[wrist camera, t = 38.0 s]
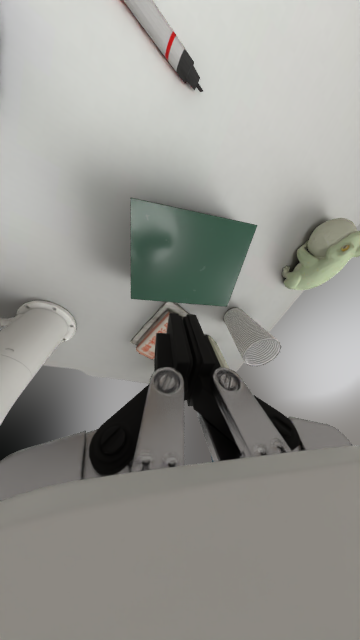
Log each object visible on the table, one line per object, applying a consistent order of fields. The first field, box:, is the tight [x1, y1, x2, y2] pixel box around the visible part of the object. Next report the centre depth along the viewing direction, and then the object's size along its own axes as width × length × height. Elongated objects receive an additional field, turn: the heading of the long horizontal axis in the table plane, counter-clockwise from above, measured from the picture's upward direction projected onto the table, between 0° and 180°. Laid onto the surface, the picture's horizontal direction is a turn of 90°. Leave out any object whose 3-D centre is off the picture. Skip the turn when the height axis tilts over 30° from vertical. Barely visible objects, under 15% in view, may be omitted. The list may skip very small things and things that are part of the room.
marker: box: [123, 0, 203, 92], centre depth 19 cm, size 15×2×2 cm, turn 54°
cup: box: [224, 308, 281, 366], centre depth 40 cm, size 8×8×16 cm
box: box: [208, 336, 229, 368], centre depth 46 cm, size 5×4×13 cm
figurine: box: [282, 218, 360, 290], centre depth 35 cm, size 10×16×10 cm, turn 172°
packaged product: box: [131, 302, 190, 360], centre depth 44 cm, size 18×5×10 cm
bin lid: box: [131, 198, 257, 307], centre depth 28 cm, size 20×16×1 cm
